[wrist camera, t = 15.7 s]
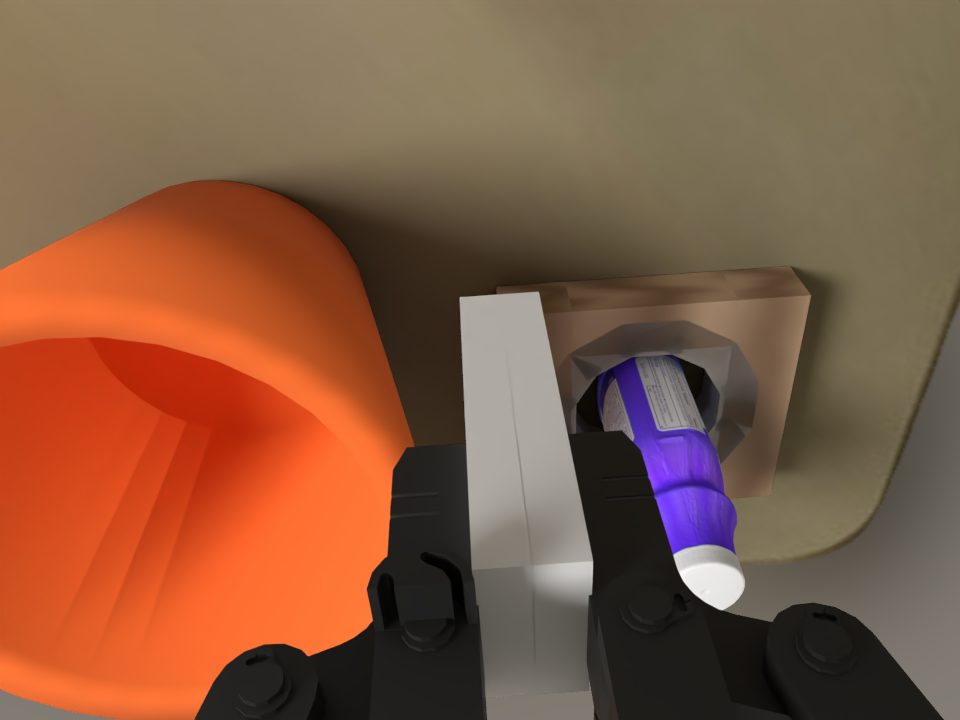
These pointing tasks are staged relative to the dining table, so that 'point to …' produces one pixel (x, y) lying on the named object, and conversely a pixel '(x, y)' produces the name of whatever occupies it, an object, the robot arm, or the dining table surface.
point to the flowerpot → (187, 450)
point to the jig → (690, 351)
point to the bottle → (677, 470)
